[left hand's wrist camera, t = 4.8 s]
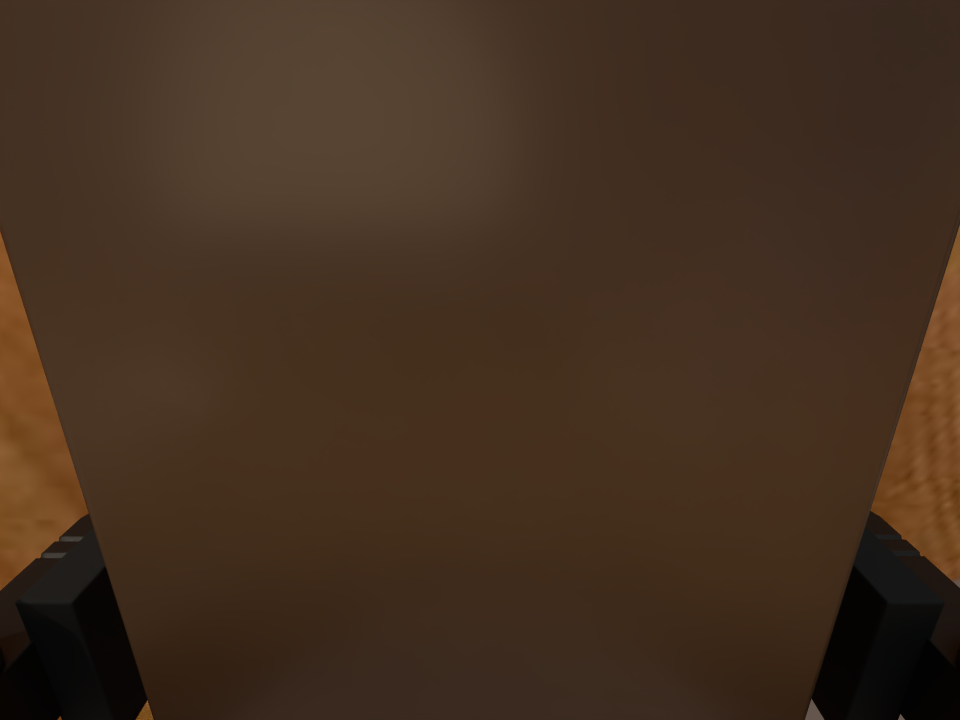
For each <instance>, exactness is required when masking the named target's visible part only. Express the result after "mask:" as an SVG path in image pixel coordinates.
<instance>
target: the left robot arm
mask: <svg viewBox="0 0 960 720" xmlns="http://www.w3.org/2000/svg"><path fill="white" fill-rule="evenodd" d="M919 553H920V552H919V551H918V550H917V549H916V548H914V547H913V546H912V545H911V544H910V543H909V542H908V541H907V540H902V538H901V535H900V534H899V533H898V532H897V531H895V530H894V529H893V528H892V527H891V526H890V525H889V524H888V523H887V522H885V521H884V520H883V519H882V518H881V517H880V516H878V515H876V514H875V513H873V512H871V511H870V513H869V516H868V519H867V522H866V526H865V529H864V532H863V535H862V538H861V542H860V545H859V548H858V551H857V554H856V557H855V561H854V564H853V567H852V570H851V573H850V577H849V580H848V583H847V586H846V589H845V593H844V596H843V599H842V602H841V605H840V609H839V612H838V615H837V618H836V621H835V625H834V628H833V631H832V634H831V637H830V641H829V644H828V647H827V650H826V653H825V657H824V660H823V663H822V666H821V669H820V673H819V676H818V679H817V682H816V685H815V689H814V692H813V695H812V700H813V702H814V703H815V705H816V707H817V708H818V710H819V711H820V713H821V715H822V716H823V718H824V720H898V718H899V716H900V714H901V715H902V716H903V718H904V719H905V720H960V588H959V587H958V586H957V585H956V584H955V583H953V582H952V581H951V580H950V579H949V578H948V577H947V576H946V575H945V574H943V573H942V572H941V571H940V570H939V569H938V568H937V567H936V566H935V565H933V564H932V563H931V562H930V561H929V560H928V559H927V558H926V557H924V556H920V554H919ZM147 700H148V699H147V696H146V693H145V690H144V687H143V683H142V680H141V677H140V674H139V671H138V667H137V664H136V661H135V658H134V655H133V652H132V648H131V645H130V642H129V639H128V636H127V632H126V629H125V626H124V623H123V620H122V617H121V613H120V610H119V607H118V604H117V601H116V597H115V594H114V591H113V588H112V585H111V582H110V578H109V575H108V572H107V569H106V566H105V562H104V559H103V556H102V553H101V550H100V547H99V543H98V540H97V537H96V534H95V531H94V527H93V524H92V521H91V518H90V515H89V514H87V515H86V516H84V517H82V518H81V519H79V520H78V521H77V522H76V523H75V524H74V525H73V526H72V527H71V528H69V529H68V530H67V531H66V532H65V533H64V534H63V535H62V536H61V537H59V541H58V542H54V543H53V544H52V545H51V546H50V547H48V548H47V549H46V550H45V551H44V552H43V553H42V554H41V558H36V559H35V560H34V561H33V562H32V563H31V564H30V565H28V566H27V567H26V568H25V569H24V570H23V571H22V572H21V573H20V574H18V575H17V576H16V577H15V578H14V579H13V580H12V581H11V582H10V583H8V584H7V585H6V586H5V587H4V588H3V589H2V590H1V591H0V720H57V719H58V718H59V717H60V716H61V718H62V720H136V718H137V716H138V715H139V713H140V711H141V710H142V708H143V707H144V705H145V703H146V702H147Z"/></svg>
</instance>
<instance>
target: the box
mask: <svg viewBox="0 0 960 720" xmlns="http://www.w3.org/2000/svg"><path fill="white" fill-rule="evenodd" d="M959 225H960V0H0V232H1V235H2V238H3V241H4V244H5V247H6V251H7V254H8V257H9V260H10V263H11V267H12V270H13V273H14V276H15V279H16V282H17V286H18V289H19V292H20V295H21V298H22V302H23V305H24V308H25V311H26V314H27V317H28V321H29V324H30V327H31V330H32V333H33V337H34V340H35V343H36V346H37V349H38V352H39V356H40V359H41V362H42V365H43V368H44V372H45V375H46V378H47V381H48V384H49V387H50V391H51V394H52V397H53V400H54V403H55V407H56V410H57V413H58V416H59V419H60V422H61V426H62V429H63V432H64V435H65V438H66V442H67V445H68V448H69V451H70V454H71V457H72V461H73V464H74V467H75V470H76V473H77V477H78V480H79V483H80V486H81V489H82V492H83V496H84V499H85V502H86V505H87V508H88V512H89V515H90V518H91V521H92V524H93V527H94V531H95V534H96V537H97V540H98V543H99V547H100V550H101V553H102V556H103V559H104V562H105V566H106V569H107V572H108V575H109V578H110V582H111V585H112V588H113V591H114V594H115V597H116V601H117V604H118V607H119V610H120V613H121V617H122V620H123V623H124V626H125V629H126V632H127V636H128V639H129V642H130V645H131V648H132V652H133V655H134V658H135V661H136V664H137V667H138V671H139V674H140V677H141V680H142V683H143V687H144V690H145V693H146V696H147V699H148V702H149V706H150V709H151V712H152V715H153V718H154V720H805V717H806V714H807V711H808V708H809V704H810V701H811V698H812V695H813V692H814V689H815V685H816V682H817V679H818V676H819V673H820V669H821V666H822V663H823V660H824V657H825V653H826V650H827V647H828V644H829V641H830V637H831V634H832V631H833V628H834V625H835V621H836V618H837V615H838V612H839V609H840V605H841V602H842V599H843V596H844V593H845V589H846V586H847V583H848V580H849V577H850V573H851V570H852V567H853V564H854V561H855V557H856V554H857V551H858V548H859V545H860V542H861V538H862V535H863V532H864V529H865V526H866V522H867V519H868V516H869V513H870V510H871V506H872V503H873V500H874V497H875V494H876V490H877V487H878V484H879V481H880V478H881V474H882V471H883V468H884V465H885V462H886V458H887V455H888V452H889V449H890V446H891V442H892V439H893V436H894V433H895V430H896V426H897V423H898V420H899V417H900V414H901V411H902V407H903V404H904V401H905V398H906V395H907V391H908V388H909V385H910V382H911V379H912V375H913V372H914V369H915V366H916V363H917V359H918V356H919V353H920V350H921V347H922V343H923V340H924V337H925V334H926V331H927V327H928V324H929V321H930V318H931V315H932V311H933V308H934V305H935V302H936V299H937V295H938V292H939V289H940V286H941V283H942V279H943V276H944V273H945V270H946V267H947V264H948V260H949V257H950V254H951V251H952V248H953V244H954V241H955V238H956V235H957V232H958V228H959Z"/></svg>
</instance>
